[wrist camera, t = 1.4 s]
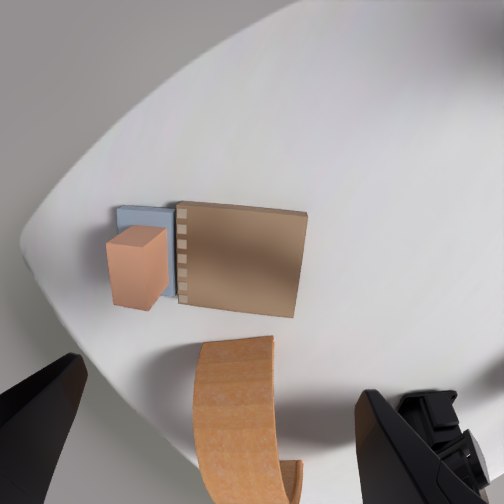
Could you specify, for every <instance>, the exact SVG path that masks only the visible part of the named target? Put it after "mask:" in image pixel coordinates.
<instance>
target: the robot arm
mask: <svg viewBox="0 0 504 504" xmlns="http://www.w3.org/2000/svg"><path fill="white" fill-rule="evenodd" d="M87 376H88V373H87V369H86V366H85V363H84V360H83V358H82V356H81V355H80V354H76V353H73V352H70V353H68V354H66V355H65V356H63V357H61V358H59V359H58V360H56V361H54V362H53V363H51V364H49V365H48V366H46V367H45V368H43V369H41V370H40V371H38V372H36V373H35V374H33V375H31V376H29V377H28V378H26V379H25V380H23V381H21V382H20V383H18V384H16V385H15V386H13V387H11V388H10V389H8V390H6V391H5V392H3V393H2V394H0V504H44V500H45V497H46V494H47V491H48V488H49V485H50V482H51V479H52V476H53V473H54V470H55V468H56V465H57V462H58V459H59V456H60V454H61V451H62V449H63V446H64V443H65V441H66V438H67V436H68V433H69V431H70V428H71V426H72V423H73V421H74V418H75V416H76V413H77V410H78V407H79V403H80V400H81V397H82V393H83V390H84V387H85V383H86V381H87ZM457 395H458V394H457V392H456V391H447V392H435V393H419V394H407V395H405V396H403V398H402V400H401V401H400V403H399V405H398V407H397V409H396V410H395V409H394V408H393V407H392V406H391V405H390V404H389V403H388V401H387V400H386V399H385V398H384V397H383V396H382V395H381V394H380V393H379V392H378V391H377V390H376V389H366V390H364V391H363V392H362V393H361V395H360V397H359V399H358V401H357V403H356V405H355V435H356V455H357V462H358V469H359V476H360V483H361V491H362V499H363V504H489V501H488V498H487V494H486V491H485V487H486V486H488V485H490V480H489V475H488V471H487V466H486V462H485V458H484V456H483V454H482V451H481V449H480V447H479V444H478V442H477V441H476V439H475V438H474V436H473V435H472V433H471V432H470V430H469V429H467V430H465V431H464V432H463V433H461V430H460V428H459V425H458V424H459V420H458V418H457V415H456V413H455V411H454V408H453V406H452V404H453V402H454V401H455V399H456V397H457ZM469 454H470V455H469ZM468 455H469V456H468ZM466 456H468V457H466Z"/></svg>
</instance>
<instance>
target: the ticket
mask: <svg viewBox="0 0 504 504" xmlns="http://www.w3.org/2000/svg"><path fill="white" fill-rule="evenodd" d="M307 220H308V215H307V212H299V211H290V210H281V209H271V208H261V207H251V206H240V205H228V204H216V203H204V202H191V201H181V202H180V203H178V204H177V205H176V252H177V285H178V304H185V305H191V306H198V307H205V308H212V309H219V310H227V311H235V312H242V313H251V314H259V315H268V316H277V317H286V318H293V316H294V310H295V304H296V298H297V292H298V285H299V278H300V272H301V265H302V258H303V251H304V243H305V236H306V228H307Z"/></svg>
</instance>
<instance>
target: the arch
mask: <svg viewBox="0 0 504 504" xmlns="http://www.w3.org/2000/svg"><path fill="white" fill-rule="evenodd" d="M273 340H274V337H273V336H265V337H257V338H248V339H238V340H228V341H217V342H205V343H203V345H202V348H201V352H200V356H199V359H198V363H197V369H196V376H195V382H194V395H193V431H194V440H195V448H196V454H197V459H198V464H199V468H200V472H201V475H202V478H203V481H204V484H205V486H206V488H207V490H208V492H209V494H210V496H211V498H212V500H213V501H214V502H215V503H216V504H299V502H300V497H301V491H302V481H303V463H302V460H298V461H296V460H291V461H279V456H278V448H277V437H276V427H275V411H274V387H273V360H274V342H273Z"/></svg>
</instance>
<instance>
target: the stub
mask: <svg viewBox="0 0 504 504" xmlns="http://www.w3.org/2000/svg"><path fill="white" fill-rule="evenodd" d="M117 226H118V235H117V236H116V237H114V238H113V239H111V240H110V241H108V242H107V243H106V250H107V259H108V268H109V276H110V283H111V290H112V297H113V303H114V305H118V306H123V307H128V308H133V309H138V310H144V311H149V310H150V308H151V307H152V306H153V304H154V303H155V302H156V300H157V299H158V298H159V296H160V295H161V296H168V297H174V296H175V295H176V293H177V292H178V285H177V252H176V209H169V208H155V207H140V206H121V207H119V208H117Z"/></svg>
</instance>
